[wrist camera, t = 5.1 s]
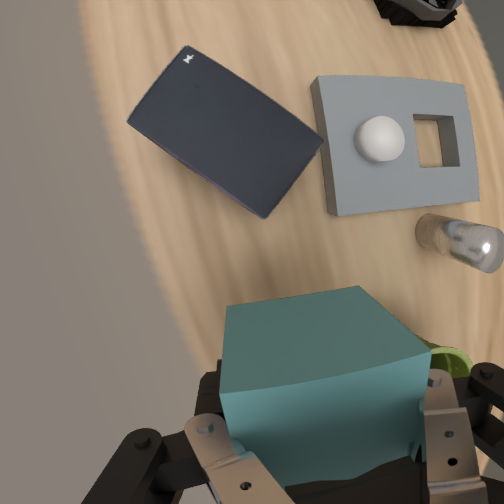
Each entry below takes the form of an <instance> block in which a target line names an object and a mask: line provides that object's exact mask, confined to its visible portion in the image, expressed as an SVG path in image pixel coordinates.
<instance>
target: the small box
mask: <svg viewBox="0 0 504 504" xmlns="http://www.w3.org/2000/svg"><path fill="white" fill-rule="evenodd" d="M126 122H127V123H128V124H129V125H130V126H132V127H133V128H135V129H136V130H137V131H139V132H140V133H141V134H143V135H144V136H145V137H147V138H148V139H150V140H151V141H152V142H154V143H155V144H156V145H158V146H159V147H160V148H162V149H163V150H164V151H166V152H167V153H169V154H170V155H171V156H173V157H174V158H175V159H177V160H178V161H179V162H181V163H182V164H183V165H185V166H186V167H187V168H189V169H190V170H191V171H193V172H194V173H195V174H197V175H198V176H200V177H201V178H203V179H204V180H206V181H207V182H209V183H210V184H212V185H213V186H214V187H216V188H217V189H219V190H220V191H222V192H223V193H224V194H226V195H227V196H229V197H230V198H232V199H233V200H234V201H236V202H237V203H239V204H240V205H242V206H243V207H245V208H246V209H248V210H249V211H251V212H252V213H254V214H255V215H257V216H259V217H260V218H261V219H266V218H267V217H268V216H269V215H270V213H271V212H272V211H273V210H274V208H275V207H276V206H277V205H278V204H279V202H280V201H281V199H282V198H283V197H284V195H285V194H286V193H287V192H288V190H289V189H290V188H291V187H292V185H293V184H294V182H295V181H296V180H297V178H298V177H299V176H300V175H301V173H302V172H303V170H304V169H305V168H306V167H307V165H308V164H309V163H310V161H311V160H312V159H313V157H314V156H315V155H316V153H317V152H318V150H319V149H320V148H321V147H322V145H323V144H324V142H325V139H324V138H323V137H321V136H320V135H319V134H318V133H316V132H315V131H314V130H313V129H311V128H310V127H309V126H307V125H306V124H305V123H304V122H302V121H301V120H300V119H299V118H297V117H296V116H295V115H293V114H292V113H290V112H289V111H288V110H286V109H285V108H284V107H283V106H281V105H280V104H278V103H277V102H276V101H274V100H273V99H271V98H270V97H269V96H267V95H266V94H265V93H263V92H262V91H260V90H259V89H257V88H256V87H254V86H253V85H251V84H250V83H248V82H247V81H245V80H244V79H242V78H241V77H239V76H238V75H236V74H235V73H233V72H232V71H230V70H229V69H227V68H225V67H224V66H222V65H221V64H219V63H218V62H216V61H214V60H213V59H211V58H209V57H208V56H206V55H205V54H202V53H201V52H199V51H197V50H196V49H194V48H192V47H191V46H189V45H185V46H183V47H182V49H181V50H180V51H179V52H178V54H177V55H176V56H175V57H174V58H173V60H172V61H171V62H170V63H169V64H168V65H167V67H166V68H165V69H164V70H163V71H162V73H161V74H160V75H159V77H158V78H157V79H156V80H155V82H154V83H153V84H152V85H151V86H150V88H149V89H148V91H147V92H146V93H145V94H144V96H143V97H142V99H141V100H140V101H139V103H138V104H137V105H136V107H135V108H134V110H133V111H132V112H131V114H130V115H129V117H128V118H127V121H126Z"/></svg>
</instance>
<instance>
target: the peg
mask: <svg viewBox="0 0 504 504" xmlns="http://www.w3.org/2000/svg"><path fill="white" fill-rule="evenodd" d="M415 234H416V239H417V241H418V243H419V244H420V245H421V246H422V247H424V248H426V249H429V250H431V251H434V252H436V253H439V254H441V255H444V256H447V257H449V258H451V259H454V260H456V261H459V262H461V263H464V264H466V265H469V266H471V267H473V268H476V269H478V270H481V271H483V272H485V273H493V272H495V271H496V270H497V269H498V268H499V267H500V266H501V264H502V262H503V260H504V234H503V232H502V231H501V230H500V229H498V228H494V227H490V226H486V225H481V224H477V223H472V222H468V221H463V220H459V219H454V218H449V217H444V216H439V215H434V214H426V215H424V216H423V217H421V219H420V220H419V221H418V223H417V226H416V231H415Z"/></svg>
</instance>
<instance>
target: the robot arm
mask: <svg viewBox="0 0 504 504" xmlns="http://www.w3.org/2000/svg"><path fill="white" fill-rule="evenodd" d="M221 365H222V359H218V361H217V370H216V371H215V372H206V374H205V375H204V376H203V377H202V378H201V380H200V385H199V391H198V396H197V402H196V408H195V414H194V417H192V418H191V419H190V420H188V421H187V423H186V424H185V427H184V430H183V431H181V432H179V433H175V434H172V435H168V436H164V437H162V436H161V435H160V433H159V432H158V431H156V430H154V429H150V428H142V429H138V430H135V431H133V432H131V433H129V434H128V435H127V436H126V437H125V438H124V440H123V441H122V443H121V445H120V446H119V447H118V449H117V450H116V452H115V453H114V455H113V456H112V458H111V459H110V461H109V462H108V464H107V466H106V467H105V468H104V470H103V471H102V473H101V475H100V476H99V477H98V479H97V481H96V482H95V484H94V485H93V486H92V488H91V490H90V491H89V493H88V494H87V495H86V497H85V498H84V500H83V501H82V503H81V504H178V503H179V501H180V499H181V496H182V494H183V491H184V489H187V488H190V487H194V486H198V485H202V484H206V485H207V487H208V489H209V491H210V493H211V494H212V497H213V498H214V500H215V502H216V504H504V482H502V481H498V480H495V479H491V478H487V477H484V476H481V475H480V473H479V467H478V461H477V455H476V450H475V446H476V447H478V448H479V449H480V450H481V451H482V452H484V453H485V454H486V455H487V456H488V457H490V458H491V459H492V460H493V461H495V462H496V463H497V464H498V465H499V466H500V467H502V468H503V469H504V423H503V422H502V421H500V420H499V419H497V418H496V417H495V416H493V415H492V414H490V413H491V410H492V407H493V405H494V406H495V407H497V408H498V409H500V410H501V411H503V412H504V369H502V368H501V367H499V366H497V365H495V364H493V363H487V362H483V363H478V364H476V365H474V366H473V367H472V368H471V370H470V375H469V376H467V377H460V378H452V377H451V375H450V374H449V373H448V372H446V371H444V370H440V369H429V376H428V382H427V388H426V393H425V397H423V398H420V399H419V400H418V405H417V434H416V439H415V441H413V442H410V443H409V447H408V451H407V456H405V457H402V458H399V459H396V460H393V461H390V462H387V463H384V464H381V465H379V466H377V467H375V468H374V469H372V470H370V471H368V472H366V473H364V474H362V475H360V476H358V477H356V478H354V479H347V480H318V481H312V482H307V483H301V484H295V485H289V486H285V491H284V490H283V489H282V488H281V486H280V485H279V484H278V483H277V482H276V480H275V479H274V478H273V477H272V475H271V474H270V473H269V472H268V470H267V469H266V468H265V467H264V465H263V464H262V463H261V461H260V460H259V459H258V458H257V456H256V455H255V454H254V453H253V452H252V451H251V450H249V451H246V450H245V449H244V448H243V446H242V445H241V443H240V442H239V441H238V439H237V438H231V439H230V435H229V431H228V427H227V423H226V419H225V416H224V412H223V408H222V404H221V399H220V395H219V390H220V377H221Z"/></svg>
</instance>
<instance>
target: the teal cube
mask: <svg viewBox="0 0 504 504" xmlns="http://www.w3.org/2000/svg"><path fill="white" fill-rule="evenodd" d="M431 355H432V350H431V349H429V348H428V347H427V346H426V345H425V344H424V343H423V342H422V341H421V340H420V339H419V338H417V337H416V336H415V335H414V334H413V333H412V332H411V331H410V330H409V329H408V328H406V327H405V326H404V325H403V324H402V323H401V322H400V321H399V320H397V319H396V318H395V317H394V316H393V315H392V314H391V313H390V312H388V311H387V310H386V309H385V308H384V307H383V306H382V305H381V304H379V303H378V302H377V301H376V300H375V299H374V298H373V297H371V296H370V295H369V294H368V293H367V292H366V291H365V290H363V289H362V288H361V287H360V286H354V287H348V288H343V289H337V290H331V291H325V292H319V293H313V294H307V295H301V296H294V297H288V298H281V299H275V300H268V301H261V302H254V303H247V304H240V305H232V306H227V309H226V320H225V331H224V342H223V354H222V365H221V377H220V390H219V395H220V399H221V404H222V408H223V412H224V416H225V419H226V423H227V427H228V431H229V435H230V439H231V438H237V439H238V441H239V442H240V443H241V445H242V446H243V448H244V449H245V450H246V451H249V450H251V451H252V452H253V453H254V454H255V455H256V456H257V458H258V459H259V460H260V461H261V463H262V464H263V465H264V467H265V468H266V469H267V470H268V472H269V473H270V474H271V475H272V477H273V478H274V479H275V480H276V482H277V483H278V484H279V485H280V486H281V488H282V489H283V490H284V491H285V486H289V485H295V484H301V483H307V482H312V481H318V480H347V479H354V478H356V477H358V476H360V475H362V474H364V473H366V472H368V471H370V470H372V469H374V468H375V467H377V466H379V465H381V464H384V463H387V462H390V461H393V460H396V459H399V458H402V457H405V456H407V451H408V447H409V443H410V442H413V441H415V439H416V434H417V405H418V400H419V399H420V398H423V397H425V393H426V388H427V382H428V376H429V369H430V362H431Z"/></svg>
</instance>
